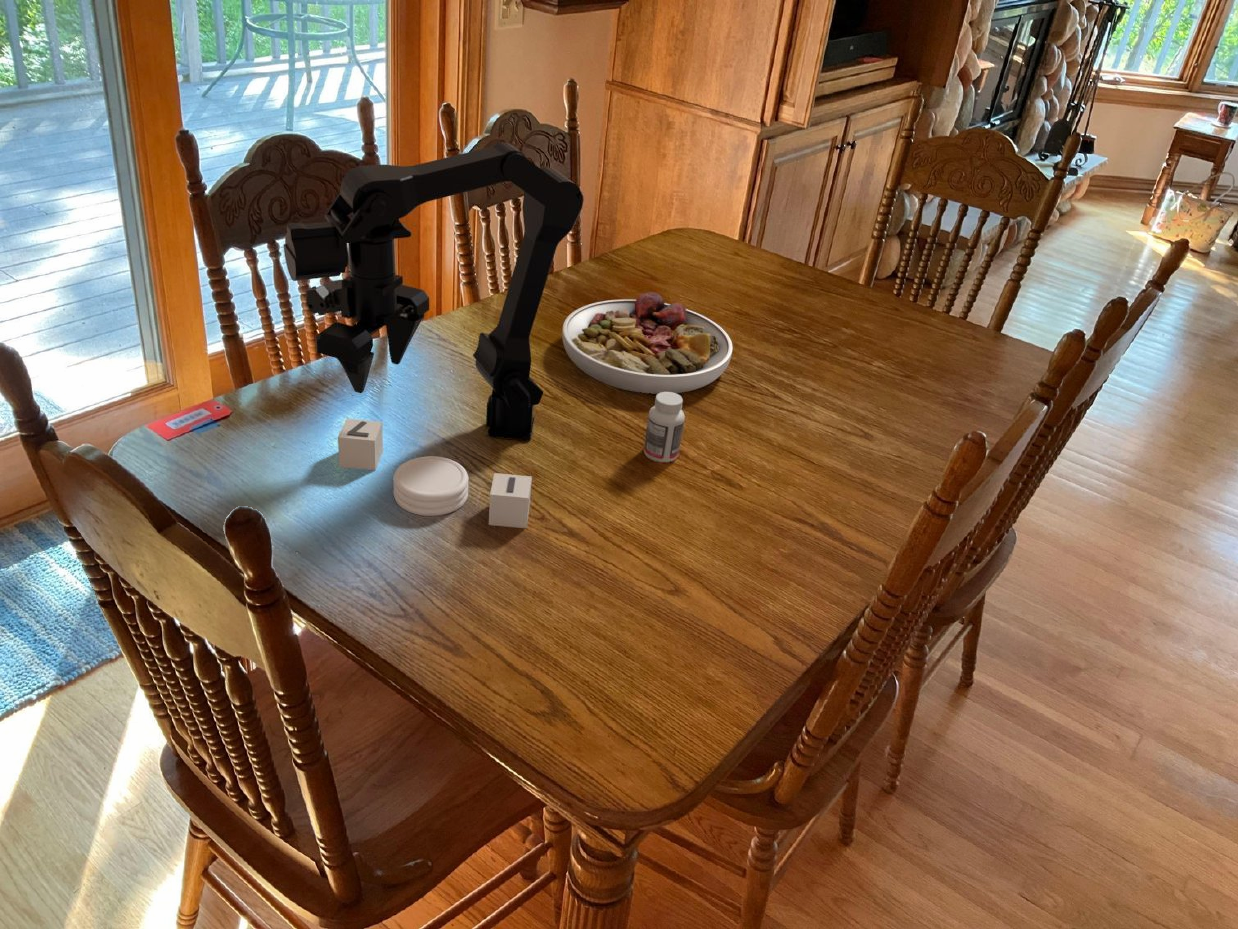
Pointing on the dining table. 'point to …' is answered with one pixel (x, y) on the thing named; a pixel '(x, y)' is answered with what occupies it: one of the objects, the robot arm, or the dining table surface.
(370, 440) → the block seven
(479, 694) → the dining table surface
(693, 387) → the bowl
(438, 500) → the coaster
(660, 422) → the pill bottle
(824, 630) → the dining table surface
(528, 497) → the block one
